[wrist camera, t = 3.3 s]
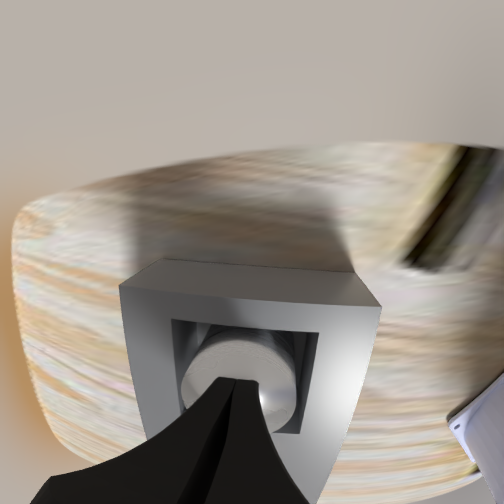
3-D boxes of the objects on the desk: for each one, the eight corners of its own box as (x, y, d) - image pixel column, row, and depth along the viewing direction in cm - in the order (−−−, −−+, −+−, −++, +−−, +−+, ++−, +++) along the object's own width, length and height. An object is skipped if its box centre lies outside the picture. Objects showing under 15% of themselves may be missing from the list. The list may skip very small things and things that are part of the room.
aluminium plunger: (289, 382, 13) (288, 441, 9) (208, 374, 14) (185, 428, 10) (298, 308, 12) (303, 359, 9) (206, 300, 13) (177, 346, 9)
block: (305, 480, 16) (306, 522, 12) (184, 466, 17) (169, 505, 13) (355, 272, 13) (382, 307, 9) (161, 258, 14) (118, 285, 10)
